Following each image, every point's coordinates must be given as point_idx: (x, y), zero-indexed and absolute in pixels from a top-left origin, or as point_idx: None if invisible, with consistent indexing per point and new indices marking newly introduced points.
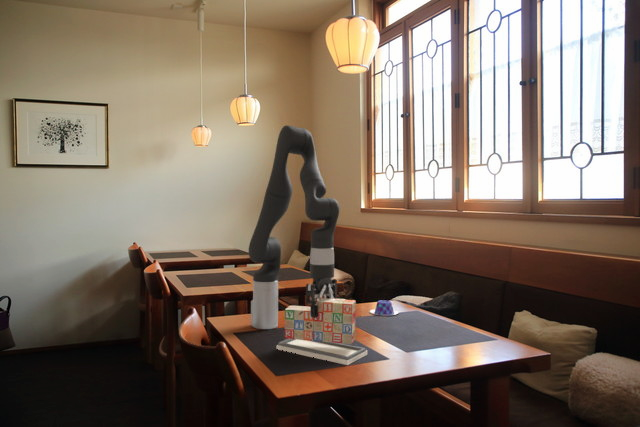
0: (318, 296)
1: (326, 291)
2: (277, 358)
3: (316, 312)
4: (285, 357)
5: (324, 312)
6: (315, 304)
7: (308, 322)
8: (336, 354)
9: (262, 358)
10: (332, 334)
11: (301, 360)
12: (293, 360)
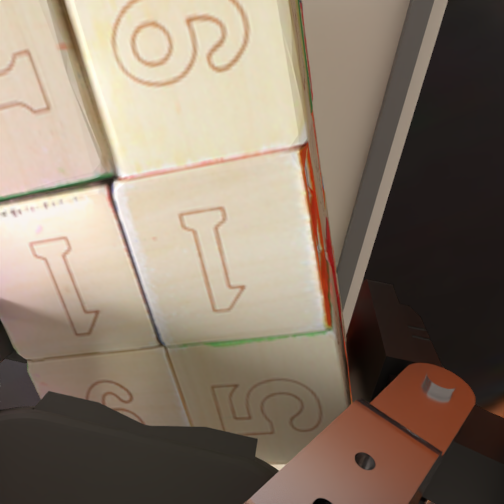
0: (430, 474)
1: (53, 451)
2: (459, 343)
3: (400, 312)
4: (431, 316)
5: (323, 234)
6: (468, 390)
7: (344, 335)
8: (419, 13)
9: (480, 400)
10: (312, 100)
11: (456, 225)
12: (469, 263)
